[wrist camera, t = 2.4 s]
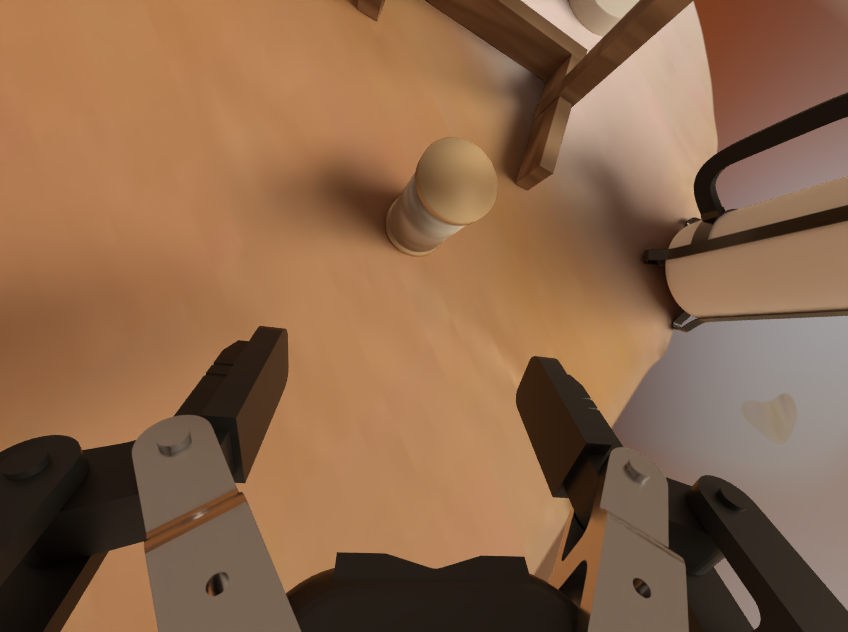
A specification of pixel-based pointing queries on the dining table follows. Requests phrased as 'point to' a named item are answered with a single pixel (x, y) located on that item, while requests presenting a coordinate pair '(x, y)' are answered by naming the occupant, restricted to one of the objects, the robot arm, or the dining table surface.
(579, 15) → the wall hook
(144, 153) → the dining table surface
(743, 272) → the coffee press
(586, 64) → the wooden frame rack
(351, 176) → the dining table surface
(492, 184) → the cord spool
